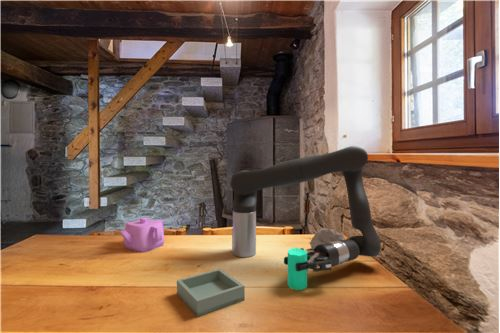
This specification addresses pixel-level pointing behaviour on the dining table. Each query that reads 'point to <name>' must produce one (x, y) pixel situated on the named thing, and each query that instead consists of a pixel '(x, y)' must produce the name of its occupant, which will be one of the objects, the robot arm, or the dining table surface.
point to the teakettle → (143, 234)
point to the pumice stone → (325, 237)
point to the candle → (295, 278)
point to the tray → (210, 291)
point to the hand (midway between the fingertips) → (290, 264)
